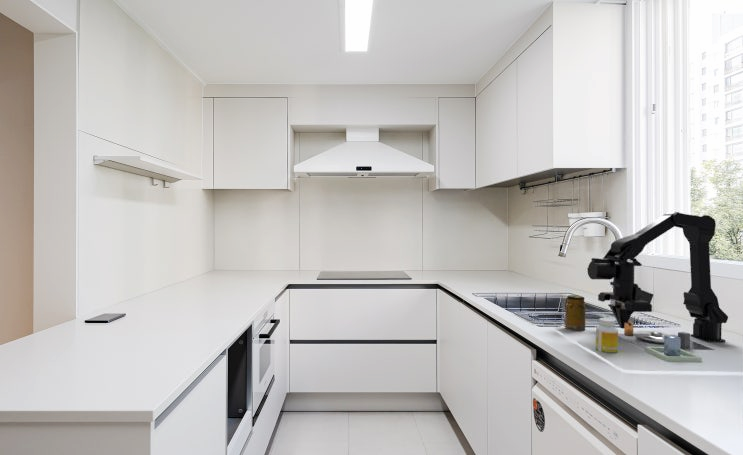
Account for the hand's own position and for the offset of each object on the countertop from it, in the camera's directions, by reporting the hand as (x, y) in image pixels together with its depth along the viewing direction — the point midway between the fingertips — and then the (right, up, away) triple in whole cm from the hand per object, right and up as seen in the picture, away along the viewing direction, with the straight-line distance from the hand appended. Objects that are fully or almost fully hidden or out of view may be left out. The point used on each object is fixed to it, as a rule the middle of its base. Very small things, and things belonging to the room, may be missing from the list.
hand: (622, 328), depth 131 cm
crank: (+6, -2, -3) cm, 7 cm away
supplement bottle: (-14, -4, -15) cm, 21 cm away
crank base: (+8, -3, -5) cm, 10 cm away
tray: (+2, -4, -19) cm, 20 cm away
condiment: (-10, -3, +8) cm, 14 cm away
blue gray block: (+2, -3, -19) cm, 20 cm away
